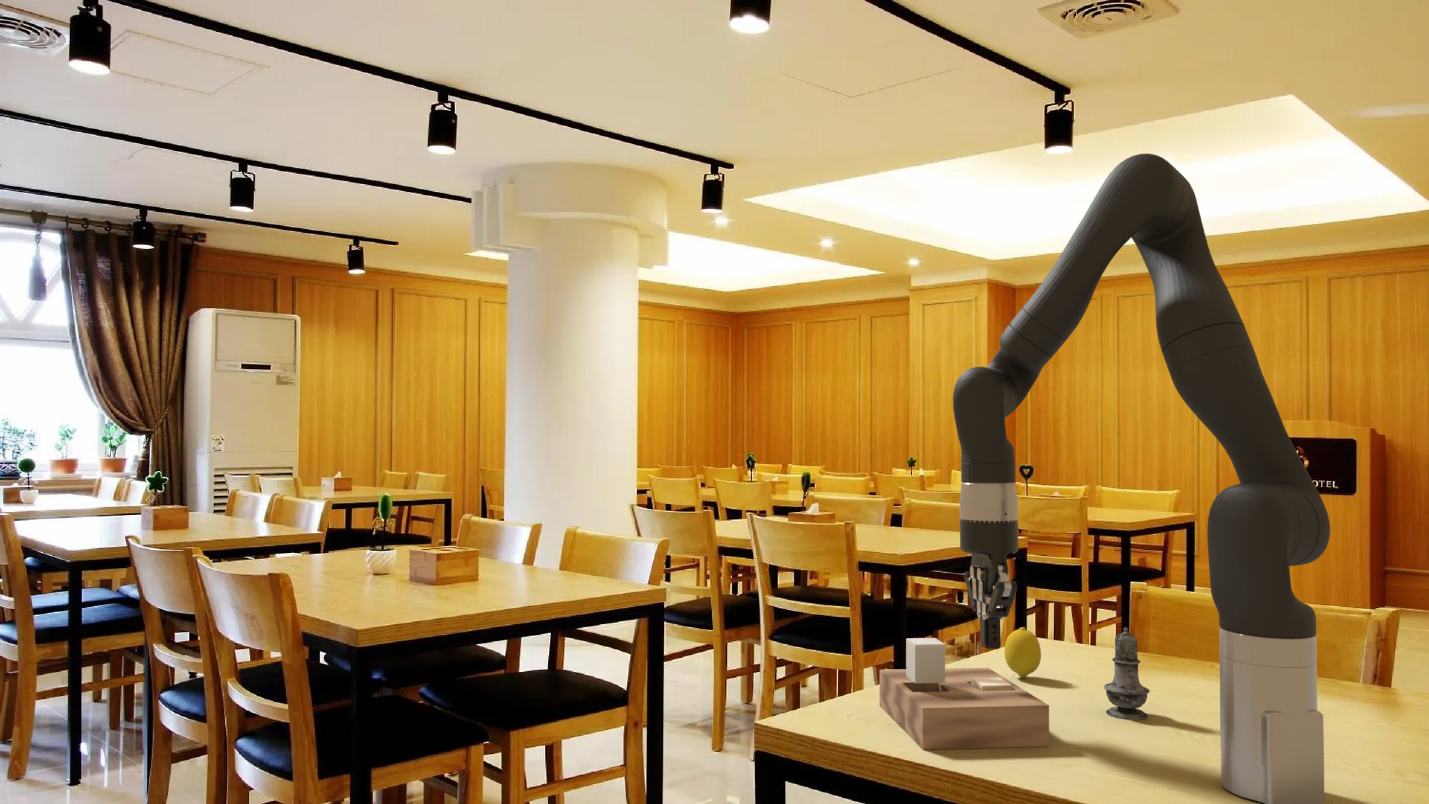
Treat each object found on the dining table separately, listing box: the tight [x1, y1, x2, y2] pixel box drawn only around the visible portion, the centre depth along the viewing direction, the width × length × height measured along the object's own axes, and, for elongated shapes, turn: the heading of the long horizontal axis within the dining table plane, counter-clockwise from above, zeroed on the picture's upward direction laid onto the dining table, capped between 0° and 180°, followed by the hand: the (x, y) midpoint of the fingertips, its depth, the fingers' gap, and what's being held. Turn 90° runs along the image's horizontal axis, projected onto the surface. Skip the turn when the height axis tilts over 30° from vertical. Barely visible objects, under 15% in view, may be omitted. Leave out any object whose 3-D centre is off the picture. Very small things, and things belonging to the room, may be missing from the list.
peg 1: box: [905, 637, 946, 683], centre depth 131 cm, size 4×4×5 cm
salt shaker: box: [1103, 626, 1151, 721], centre depth 137 cm, size 6×6×12 cm
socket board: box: [879, 667, 1050, 750], centre depth 132 cm, size 20×16×5 cm
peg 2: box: [971, 678, 1012, 691], centre depth 132 cm, size 4×4×5 cm
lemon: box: [1003, 626, 1042, 679], centre depth 157 cm, size 6×6×8 cm
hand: (990, 647), depth 132 cm, fingers closed
